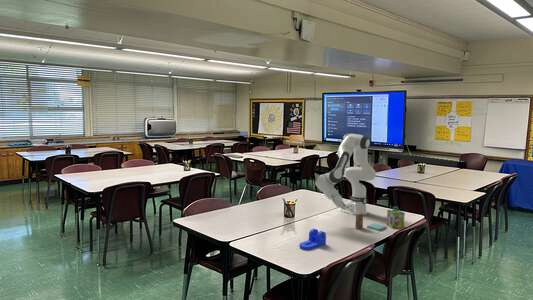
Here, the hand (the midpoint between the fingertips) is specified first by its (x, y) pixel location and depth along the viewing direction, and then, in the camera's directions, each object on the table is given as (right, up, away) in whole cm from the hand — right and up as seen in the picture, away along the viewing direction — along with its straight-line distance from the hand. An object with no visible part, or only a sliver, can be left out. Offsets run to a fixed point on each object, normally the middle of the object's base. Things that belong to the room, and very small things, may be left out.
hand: (345, 207), depth 258 cm
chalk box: (+38, -15, +4) cm, 41 cm away
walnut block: (+10, -15, -1) cm, 18 cm away
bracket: (-30, -18, -38) cm, 51 cm away
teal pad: (+23, -15, 0) cm, 27 cm away
